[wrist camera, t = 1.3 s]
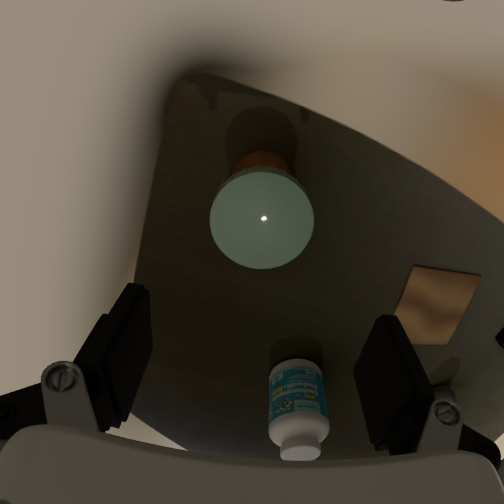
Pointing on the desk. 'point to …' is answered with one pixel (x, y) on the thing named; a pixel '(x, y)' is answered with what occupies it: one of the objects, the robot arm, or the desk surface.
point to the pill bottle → (297, 409)
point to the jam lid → (261, 217)
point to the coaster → (434, 303)
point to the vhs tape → (500, 338)
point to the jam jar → (262, 162)
